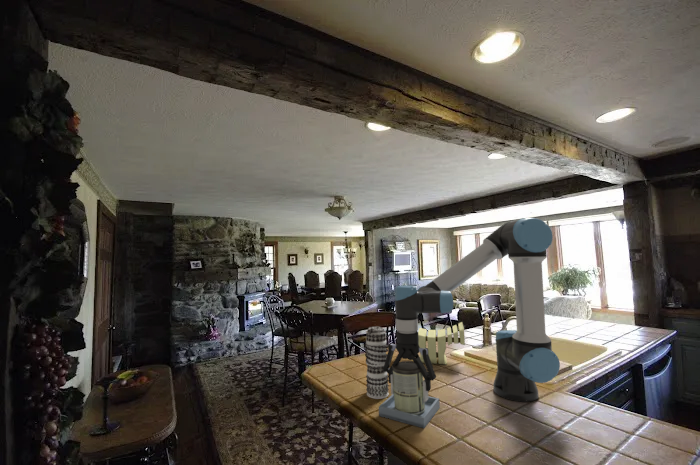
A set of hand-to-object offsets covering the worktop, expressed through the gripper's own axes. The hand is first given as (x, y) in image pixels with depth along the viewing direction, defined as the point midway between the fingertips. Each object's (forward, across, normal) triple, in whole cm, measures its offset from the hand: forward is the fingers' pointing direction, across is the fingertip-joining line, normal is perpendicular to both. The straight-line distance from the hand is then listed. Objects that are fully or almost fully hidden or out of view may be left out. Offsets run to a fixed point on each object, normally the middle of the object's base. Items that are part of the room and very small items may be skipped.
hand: (409, 396), depth 111 cm
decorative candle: (+5, +16, -7) cm, 18 cm away
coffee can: (+4, 0, 0) cm, 4 cm away
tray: (+5, 0, 0) cm, 5 cm away
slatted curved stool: (+5, +10, -55) cm, 56 cm away
